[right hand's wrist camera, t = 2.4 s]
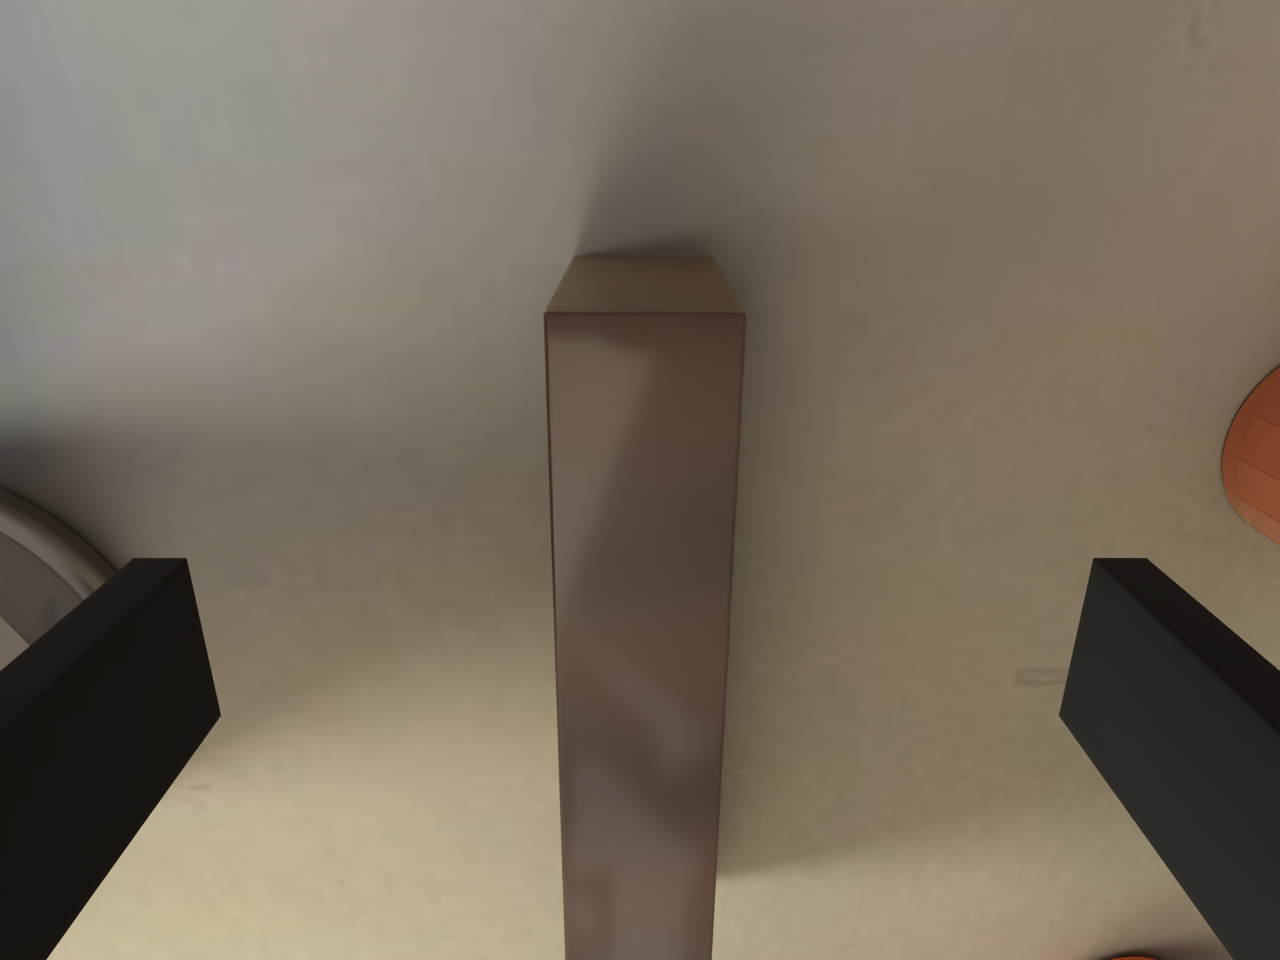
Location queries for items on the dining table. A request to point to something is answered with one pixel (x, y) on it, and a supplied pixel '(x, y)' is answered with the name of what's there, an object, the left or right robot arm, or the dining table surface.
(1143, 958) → the cup with straw
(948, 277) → the dining table surface
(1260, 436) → the terracotta cup
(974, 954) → the dining table surface
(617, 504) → the walnut box
